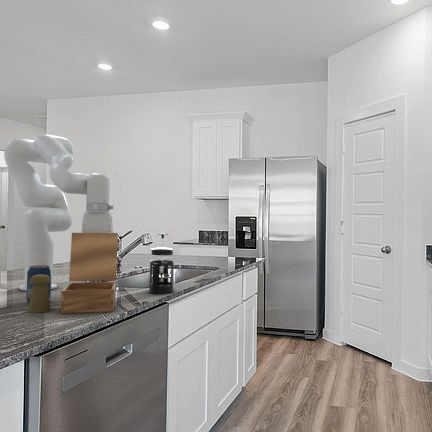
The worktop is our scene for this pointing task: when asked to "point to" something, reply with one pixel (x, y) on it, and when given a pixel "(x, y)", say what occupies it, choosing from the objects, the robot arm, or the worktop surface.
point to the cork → (39, 294)
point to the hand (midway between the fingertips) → (96, 259)
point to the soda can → (36, 271)
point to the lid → (93, 257)
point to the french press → (163, 286)
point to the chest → (88, 297)
